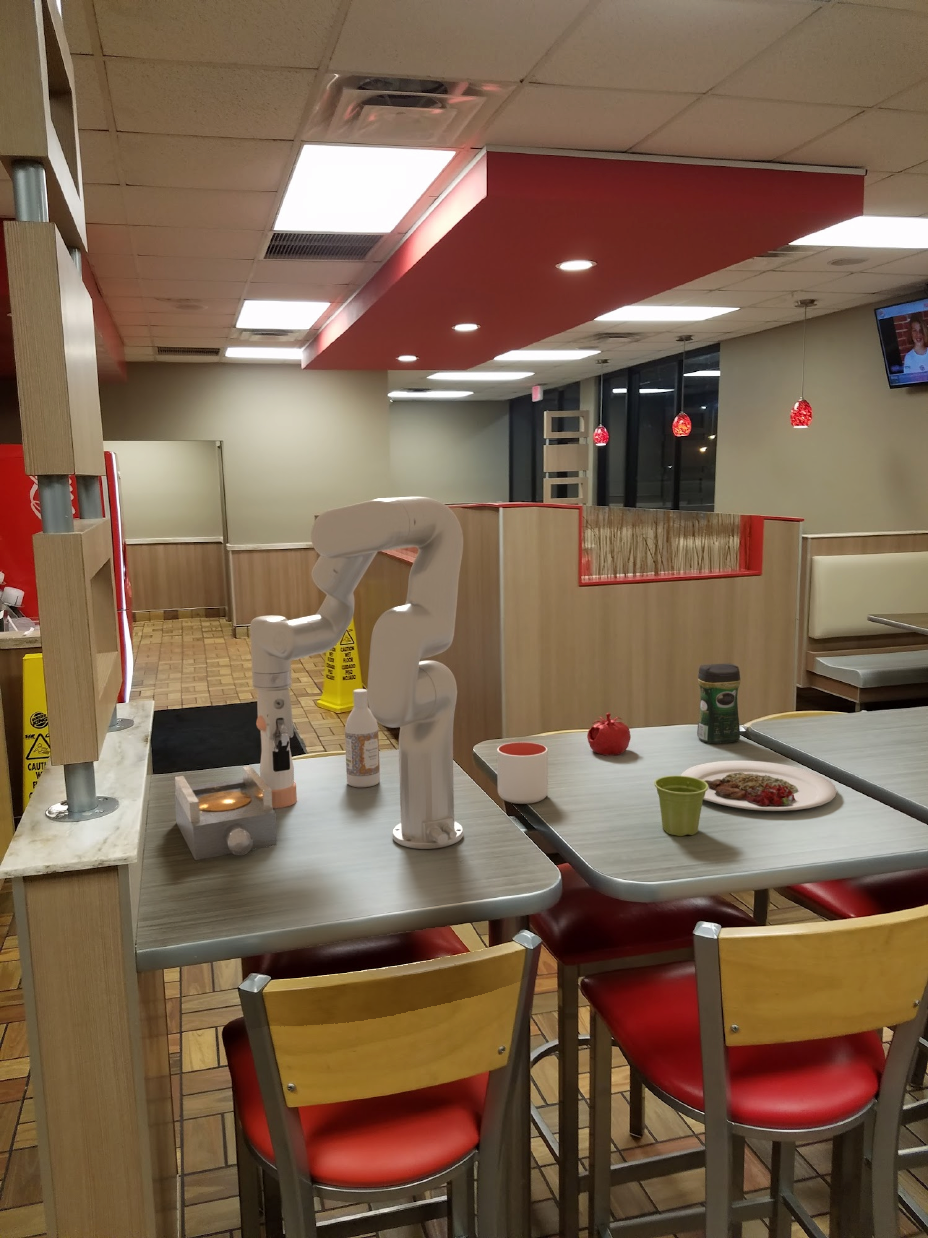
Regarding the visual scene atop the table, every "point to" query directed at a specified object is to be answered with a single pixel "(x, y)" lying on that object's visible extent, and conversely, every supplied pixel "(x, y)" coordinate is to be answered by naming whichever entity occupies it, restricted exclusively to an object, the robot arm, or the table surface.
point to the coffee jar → (718, 703)
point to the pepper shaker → (280, 780)
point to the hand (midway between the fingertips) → (275, 763)
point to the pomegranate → (609, 736)
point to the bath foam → (362, 744)
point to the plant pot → (680, 803)
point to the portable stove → (226, 815)
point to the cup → (522, 772)
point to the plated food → (762, 785)
